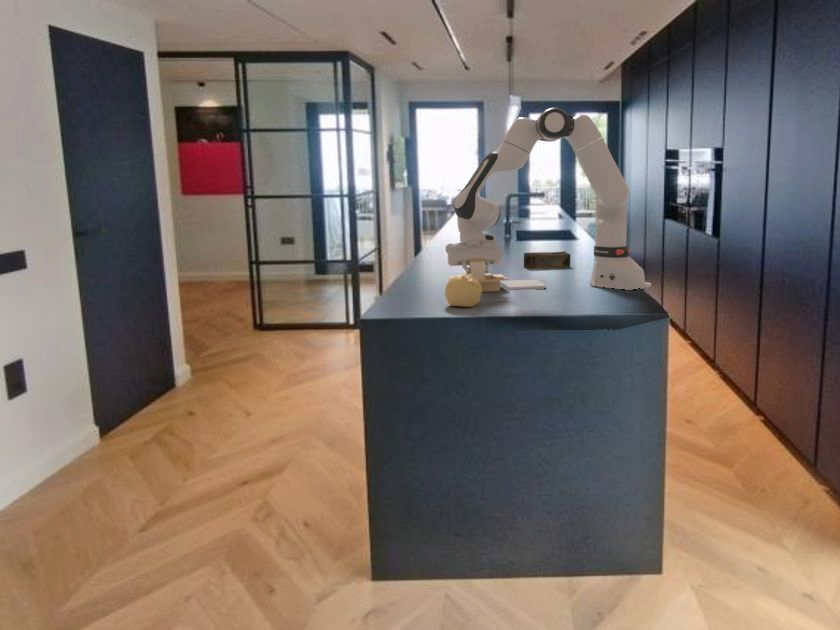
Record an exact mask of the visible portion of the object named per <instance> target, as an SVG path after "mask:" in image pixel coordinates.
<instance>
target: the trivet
mask: <svg viewBox="0 0 840 630" xmlns="http://www.w3.org/2000/svg"><path fill="white" fill-rule="evenodd" d="M500 285H501V286H503V287H505V288H506V289H507V290H528V289H529V290H530V289H534V290H545V289H544V288H546V289H547V284H545V283H544V282H541V281H540V280H538V279H536V278H535V279H516V280H514V279H513V280H509V279H508V280H500Z"/></svg>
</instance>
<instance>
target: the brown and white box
mask: <svg viewBox="0 0 840 630" xmlns="http://www.w3.org/2000/svg"><path fill="white" fill-rule="evenodd" d="M485 262H486V261H485V259H484V258H469V265H468V268H471V274H472V275H473V276H474V277H476V278H477V279H478V280H485V274H486V273H485V267H486V265H485Z"/></svg>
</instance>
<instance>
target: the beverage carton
mask: <svg viewBox="0 0 840 630" xmlns="http://www.w3.org/2000/svg"><path fill="white" fill-rule="evenodd" d="M523 267H524V268H526V269H527V270H534V269H536V268H540V269H561V268H563V267H567V268H571V254H570V253H568V252H567V251H565V250H564V251H553V252H552V251H551V252H550V251H549V252H546V251H545V252H544V251H543V252H542V251H540V252H534V251H533V252H524V253H523ZM536 270H537V269H536Z"/></svg>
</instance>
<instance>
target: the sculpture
mask: <svg viewBox="0 0 840 630" xmlns="http://www.w3.org/2000/svg"><path fill="white" fill-rule="evenodd" d="M456 275H457V276H456ZM456 275H453V276H454V277H453V278H451V279H449V280H448V281H447V283H446V285H445V291H444V292H445V293H444V295H445V298H446V301H447V303H448V304H449V306H453V307H464V308H472V307H475V306H476V305H477V304H479V302H480V300H481V297H482V293H483V292H482V287H481V283H479V282H478V279H477V278H476V277H474V276H473V275H472V274H466V273H462V272H461V273H460V274H456Z"/></svg>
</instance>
